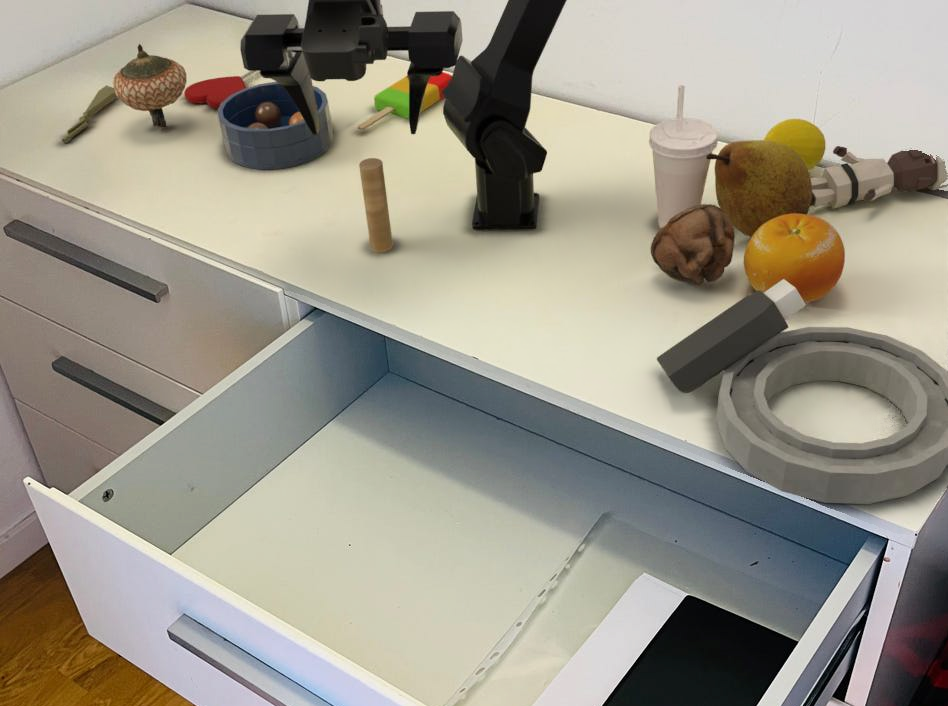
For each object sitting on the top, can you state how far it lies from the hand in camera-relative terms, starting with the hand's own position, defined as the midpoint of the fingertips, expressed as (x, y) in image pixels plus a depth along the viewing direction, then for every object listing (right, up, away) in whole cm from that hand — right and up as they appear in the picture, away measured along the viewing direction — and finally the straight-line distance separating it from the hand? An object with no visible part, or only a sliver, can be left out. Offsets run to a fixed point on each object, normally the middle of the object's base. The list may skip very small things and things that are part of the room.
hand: (364, 132), depth 108 cm
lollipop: (-19, +18, +38) cm, 46 cm away
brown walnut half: (+31, -13, -3) cm, 34 cm away
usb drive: (+30, -20, -13) cm, 38 cm away
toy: (+42, -4, +8) cm, 43 cm away
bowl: (-12, +7, +25) cm, 29 cm away
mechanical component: (+39, -28, -15) cm, 50 cm away
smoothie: (+30, -7, +8) cm, 32 cm away
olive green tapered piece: (-36, +12, +33) cm, 50 cm away
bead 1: (-14, +10, +26) cm, 31 cm away
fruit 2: (+40, -6, +6) cm, 41 cm away
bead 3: (-9, +8, +24) cm, 27 cm away
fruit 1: (+39, +2, +11) cm, 41 cm away
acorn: (-27, +10, +30) cm, 41 cm away
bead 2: (-14, +7, +22) cm, 27 cm away
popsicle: (+1, +12, +30) cm, 32 cm away
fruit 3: (+39, -15, -1) cm, 42 cm away
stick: (+1, -9, +8) cm, 12 cm away
